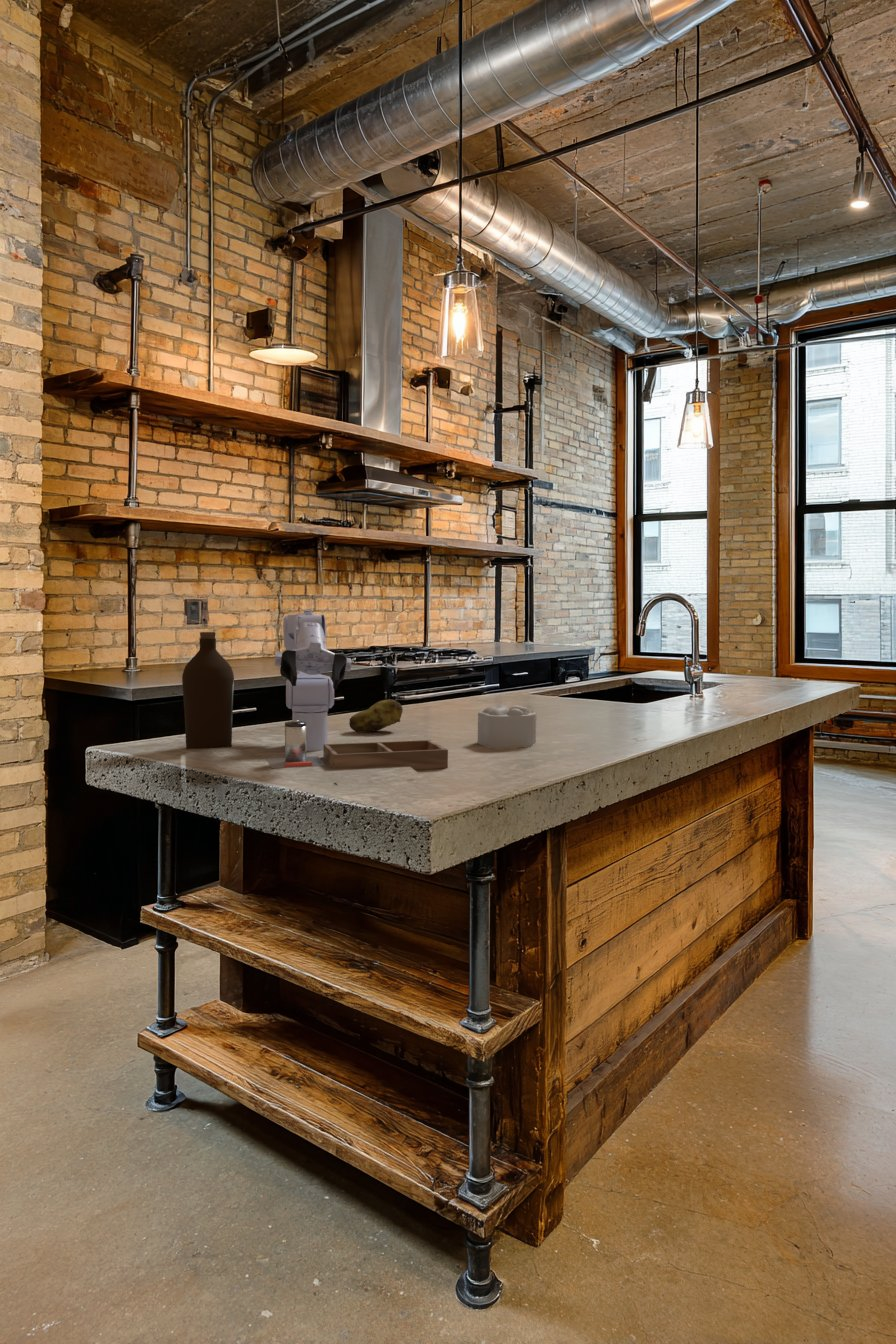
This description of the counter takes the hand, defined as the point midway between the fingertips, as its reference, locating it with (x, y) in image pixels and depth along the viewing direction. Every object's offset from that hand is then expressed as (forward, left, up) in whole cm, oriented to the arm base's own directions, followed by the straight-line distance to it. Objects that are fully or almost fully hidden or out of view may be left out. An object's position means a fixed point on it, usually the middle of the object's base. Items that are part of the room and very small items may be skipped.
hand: (315, 682), depth 154 cm
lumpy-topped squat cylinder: (-20, +47, -17) cm, 54 cm away
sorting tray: (-3, +14, -17) cm, 22 cm away
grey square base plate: (-5, -3, -17) cm, 18 cm away
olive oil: (-30, -18, -17) cm, 39 cm away
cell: (-5, -3, -16) cm, 17 cm away
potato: (-45, +22, -17) cm, 53 cm away
